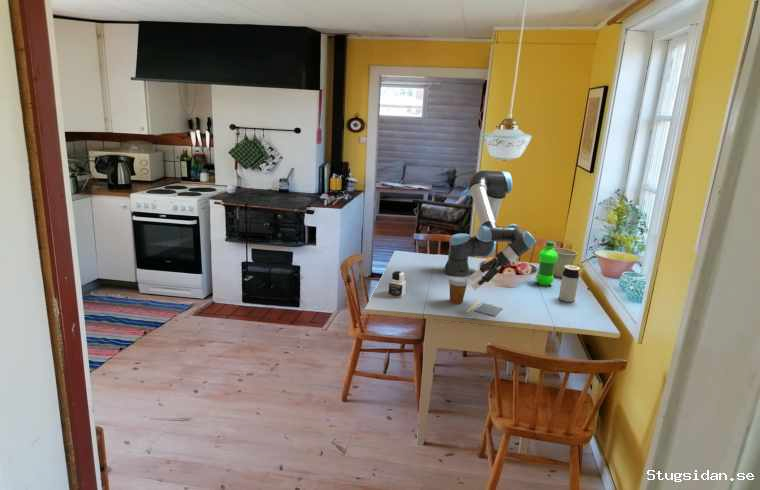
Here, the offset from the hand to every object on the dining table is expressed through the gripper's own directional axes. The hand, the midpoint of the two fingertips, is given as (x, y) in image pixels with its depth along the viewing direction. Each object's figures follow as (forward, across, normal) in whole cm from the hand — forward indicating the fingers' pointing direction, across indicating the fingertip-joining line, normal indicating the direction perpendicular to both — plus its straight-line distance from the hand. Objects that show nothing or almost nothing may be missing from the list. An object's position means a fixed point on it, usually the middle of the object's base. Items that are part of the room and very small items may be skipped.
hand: (471, 283), depth 238 cm
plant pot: (-34, +64, -50) cm, 88 cm away
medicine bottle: (+34, +3, +18) cm, 38 cm away
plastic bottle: (-24, +44, -40) cm, 64 cm away
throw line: (+7, -4, -9) cm, 12 cm away
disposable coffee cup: (+12, +1, -3) cm, 13 cm away
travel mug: (-29, +21, -45) cm, 57 cm away
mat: (+2, -6, -14) cm, 15 cm away
